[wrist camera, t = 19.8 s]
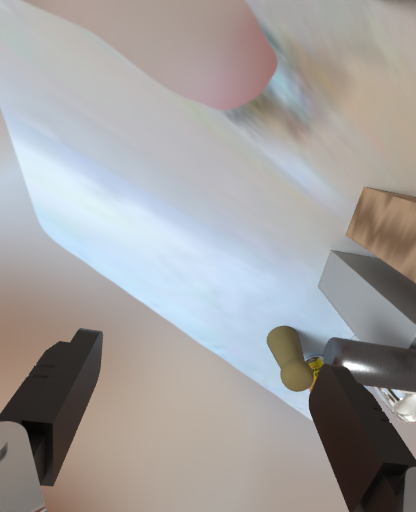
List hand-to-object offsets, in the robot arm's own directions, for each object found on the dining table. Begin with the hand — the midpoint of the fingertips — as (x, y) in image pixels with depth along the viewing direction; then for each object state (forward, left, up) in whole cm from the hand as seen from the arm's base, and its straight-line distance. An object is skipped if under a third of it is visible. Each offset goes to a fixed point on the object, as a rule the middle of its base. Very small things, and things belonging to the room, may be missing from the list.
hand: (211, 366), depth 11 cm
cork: (+25, +20, -38) cm, 50 cm away
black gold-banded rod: (+10, +25, -16) cm, 32 cm away
